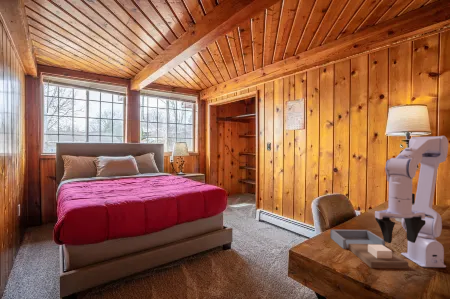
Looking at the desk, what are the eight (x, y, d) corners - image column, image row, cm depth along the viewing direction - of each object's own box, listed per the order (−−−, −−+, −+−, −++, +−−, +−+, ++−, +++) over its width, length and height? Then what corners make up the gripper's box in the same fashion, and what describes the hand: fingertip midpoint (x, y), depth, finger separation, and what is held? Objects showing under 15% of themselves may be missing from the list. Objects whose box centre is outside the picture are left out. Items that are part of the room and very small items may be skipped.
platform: (408, 268, 74) (408, 262, 74) (371, 267, 75) (371, 261, 75) (379, 249, 88) (379, 244, 88) (348, 248, 89) (348, 243, 89)
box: (384, 249, 88) (384, 240, 88) (343, 248, 89) (343, 239, 89) (367, 238, 99) (367, 229, 99) (330, 237, 100) (330, 229, 100)
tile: (391, 258, 77) (391, 251, 77) (376, 258, 77) (377, 250, 77) (381, 251, 82) (381, 244, 82) (367, 251, 82) (367, 244, 82)
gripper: (411, 194, 74) (410, 236, 75) (368, 194, 74) (367, 236, 74) (431, 199, 67) (431, 245, 67) (385, 199, 66) (384, 246, 67)
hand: (399, 241), depth 70 cm, fingers open, 7 cm apart
